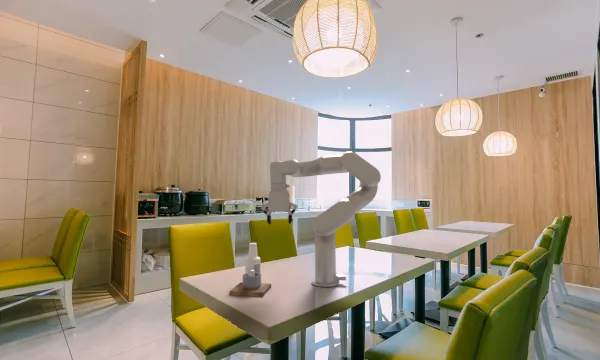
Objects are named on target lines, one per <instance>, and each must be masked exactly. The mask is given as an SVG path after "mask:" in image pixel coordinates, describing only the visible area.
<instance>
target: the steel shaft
mask: <svg viewBox="0 0 600 360" xmlns="http://www.w3.org/2000/svg"><path fill="white" fill-rule="evenodd" d="M248 276H255V270H254V269H249V270H248Z"/></svg>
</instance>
